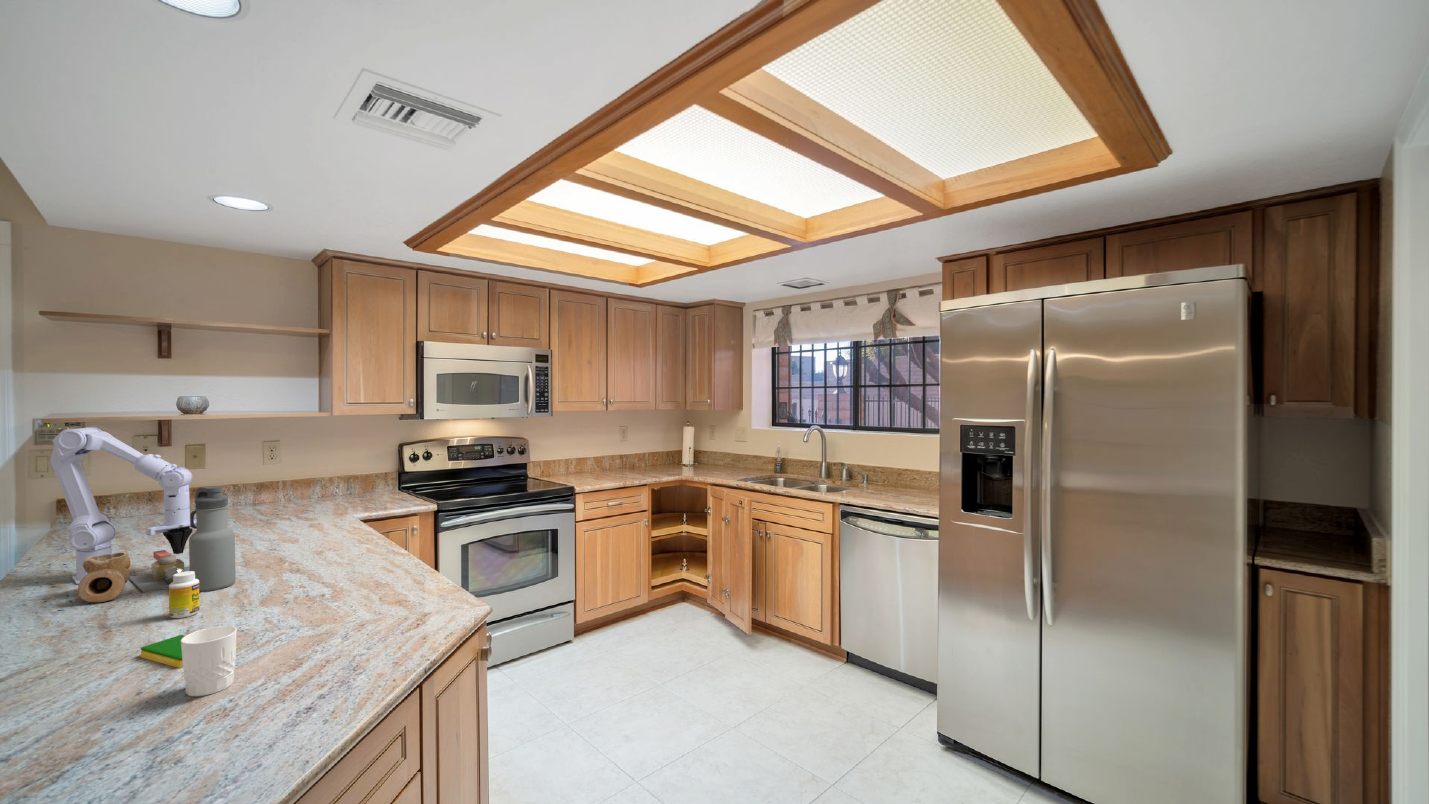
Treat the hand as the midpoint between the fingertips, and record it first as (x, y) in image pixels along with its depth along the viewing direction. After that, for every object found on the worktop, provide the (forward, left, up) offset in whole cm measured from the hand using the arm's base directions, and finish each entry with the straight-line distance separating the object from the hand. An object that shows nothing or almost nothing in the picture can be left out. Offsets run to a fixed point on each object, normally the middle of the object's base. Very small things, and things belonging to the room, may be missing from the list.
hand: (178, 553), depth 179 cm
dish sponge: (+74, -14, -6) cm, 76 cm away
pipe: (+12, -17, -6) cm, 21 cm away
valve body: (+6, -4, -6) cm, 9 cm away
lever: (+2, -4, -1) cm, 4 cm away
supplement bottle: (+46, -8, -6) cm, 47 cm away
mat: (+7, -2, -6) cm, 9 cm away
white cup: (+96, -14, -6) cm, 97 cm away
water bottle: (+25, +2, -6) cm, 26 cm away
